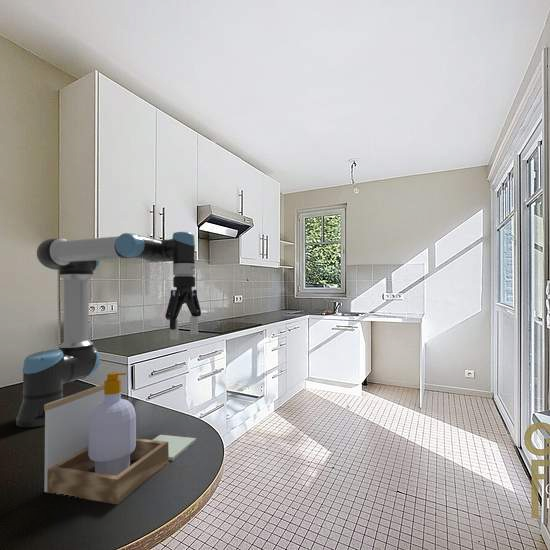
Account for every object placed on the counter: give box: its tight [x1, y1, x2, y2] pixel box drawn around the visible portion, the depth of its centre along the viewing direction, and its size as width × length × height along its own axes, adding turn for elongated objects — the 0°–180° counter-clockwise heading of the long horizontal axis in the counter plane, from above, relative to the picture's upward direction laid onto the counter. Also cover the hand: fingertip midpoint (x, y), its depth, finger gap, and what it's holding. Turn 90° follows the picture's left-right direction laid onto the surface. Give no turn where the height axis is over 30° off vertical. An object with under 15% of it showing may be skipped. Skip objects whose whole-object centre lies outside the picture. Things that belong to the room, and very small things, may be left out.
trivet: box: [152, 434, 197, 461], centre depth 97 cm, size 12×12×1 cm
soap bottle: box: [88, 371, 137, 476], centre depth 83 cm, size 10×10×24 cm
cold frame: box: [47, 437, 170, 505], centre depth 83 cm, size 19×18×12 cm
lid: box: [43, 383, 104, 493], centre depth 86 cm, size 1×19×19 cm, turn 164°
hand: (184, 336), depth 121 cm, fingers open, 13 cm apart
